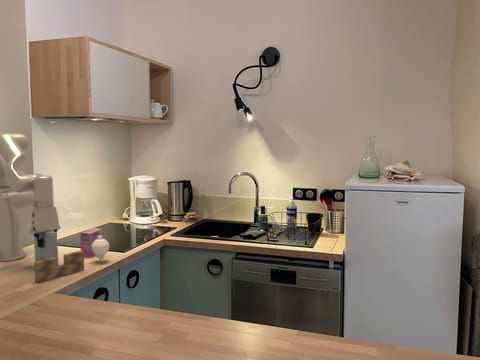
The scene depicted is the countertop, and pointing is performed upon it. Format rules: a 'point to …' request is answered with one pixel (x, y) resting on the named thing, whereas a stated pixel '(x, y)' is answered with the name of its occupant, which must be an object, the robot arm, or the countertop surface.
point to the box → (89, 241)
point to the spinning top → (100, 247)
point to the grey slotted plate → (46, 246)
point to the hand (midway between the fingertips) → (45, 245)
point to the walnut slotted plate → (50, 270)
